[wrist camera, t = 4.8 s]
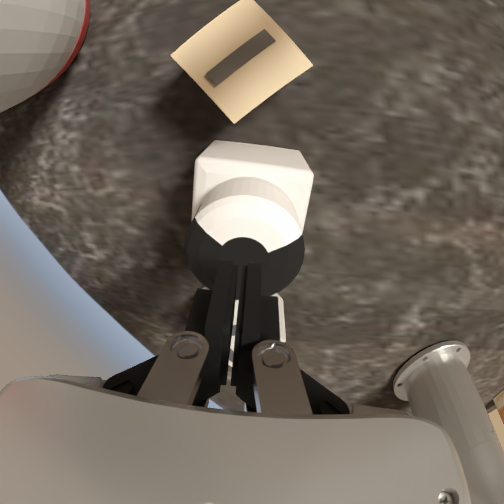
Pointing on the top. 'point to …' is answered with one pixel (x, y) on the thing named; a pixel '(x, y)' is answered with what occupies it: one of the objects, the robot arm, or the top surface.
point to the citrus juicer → (37, 44)
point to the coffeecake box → (500, 404)
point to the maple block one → (241, 58)
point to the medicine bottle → (249, 212)
